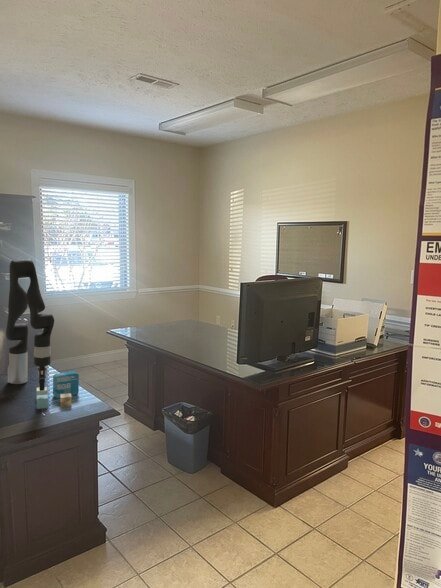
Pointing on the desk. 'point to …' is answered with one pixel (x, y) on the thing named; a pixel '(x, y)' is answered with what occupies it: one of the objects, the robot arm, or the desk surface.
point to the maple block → (65, 400)
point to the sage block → (41, 392)
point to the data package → (65, 383)
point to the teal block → (42, 401)
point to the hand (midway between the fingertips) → (42, 387)
